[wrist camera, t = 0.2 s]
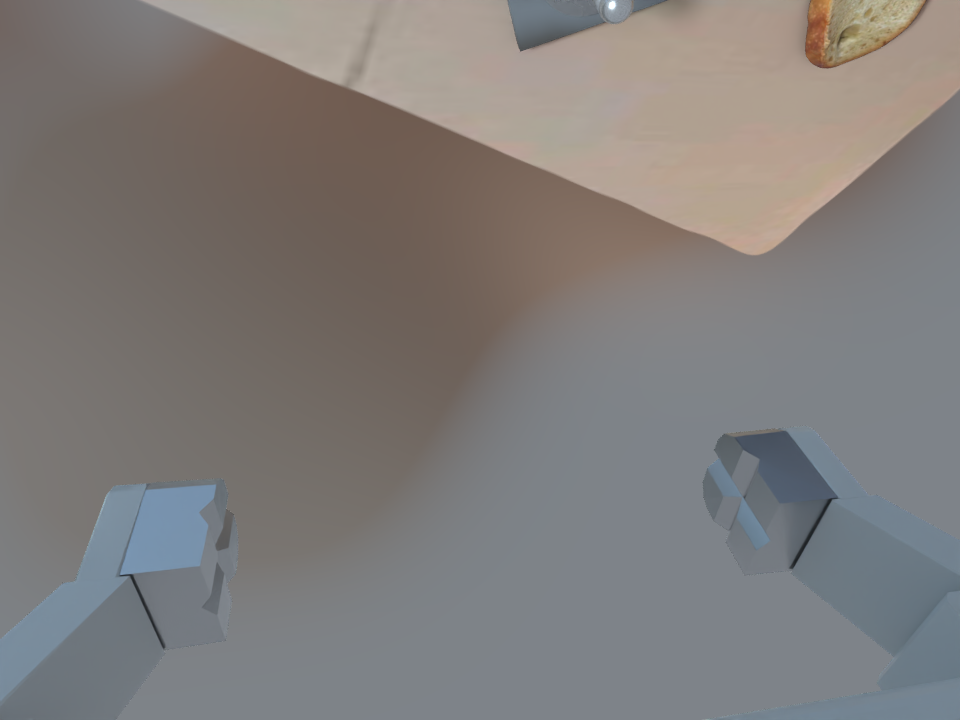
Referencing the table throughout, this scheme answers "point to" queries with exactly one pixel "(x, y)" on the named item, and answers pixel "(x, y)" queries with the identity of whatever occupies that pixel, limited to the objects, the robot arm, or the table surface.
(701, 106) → the table surface
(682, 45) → the table surface
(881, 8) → the slice of bread
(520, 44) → the board
